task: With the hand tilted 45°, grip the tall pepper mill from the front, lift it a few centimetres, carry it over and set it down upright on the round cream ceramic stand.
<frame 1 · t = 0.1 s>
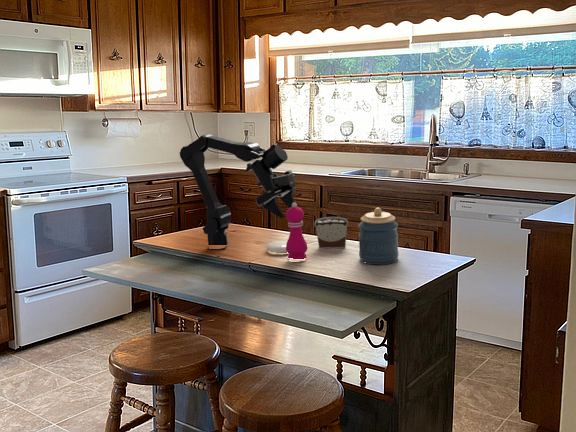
hand: (289, 214, 219), 15 cm above the kitchen island, tool tilted 35°, fingers open, 9 cm apart
pepper mill: (297, 260, 218), on the kitchen island
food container: (332, 245, 232), on the kitchen island
canister: (378, 260, 214), on the kitchen island
stand: (282, 250, 229), on the kitchen island
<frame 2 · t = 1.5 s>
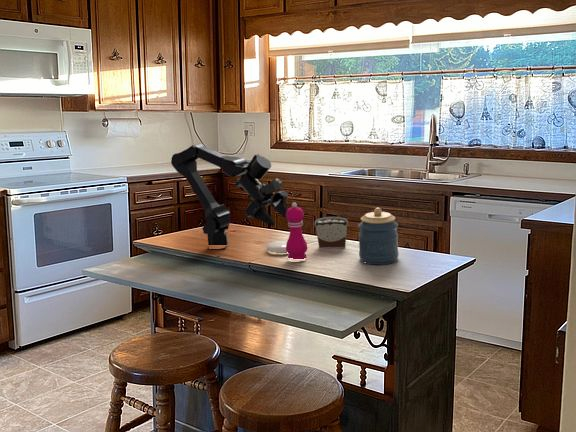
hand: (282, 222, 218), 13 cm above the kitchen island, tool tilted 45°, fingers open, 9 cm apart
nothing on the kitchen island moved.
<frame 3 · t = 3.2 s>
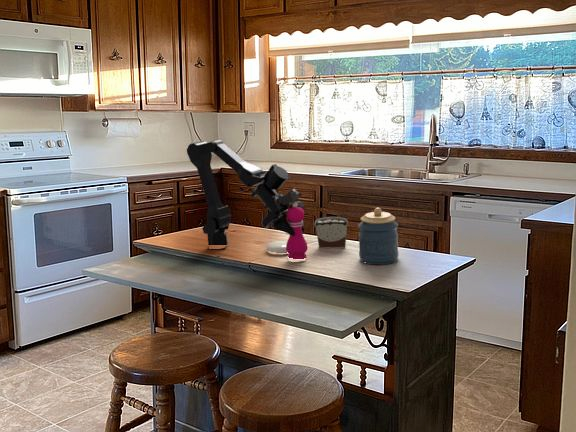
hand: (299, 233, 215), 10 cm above the kitchen island, tool tilted 45°, fingers closed on pepper mill, 5 cm apart
pepper mill: (297, 260, 218), on the kitchen island, touching gripper
everything else where it was.
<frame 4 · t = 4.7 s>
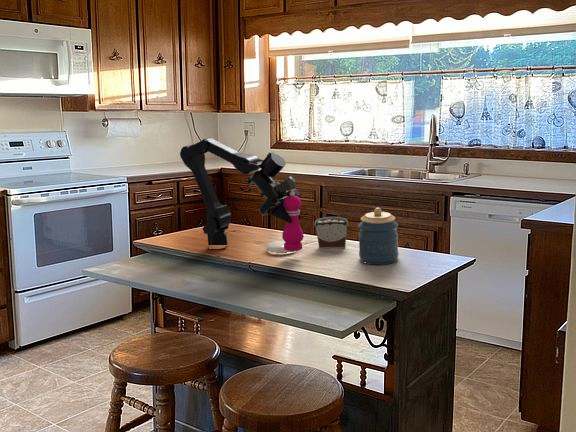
hand: (295, 220, 216), 13 cm above the kitchen island, tool tilted 45°, fingers closed on pepper mill, 5 cm apart
pepper mill: (293, 249, 219), point 3 cm above the kitchen island, touching gripper
everything else where it was.
when the fingers open (12 cm above the kitchen island, at t = 6.3 s): pepper mill stays where it is, resting on stand.
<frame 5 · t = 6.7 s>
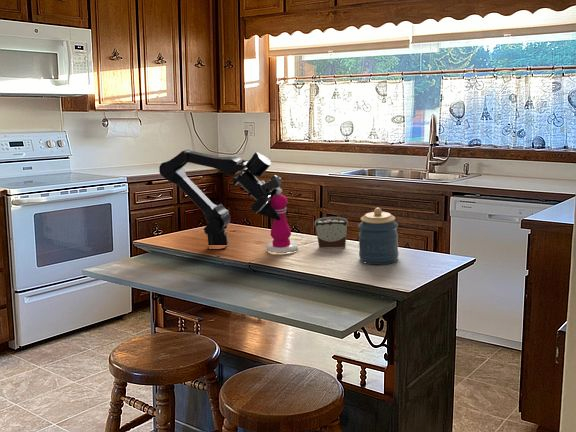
hand: (284, 216, 226), 13 cm above the kitchen island, tool tilted 45°, fingers open, 9 cm apart
pepper mill: (281, 245, 229), point 2 cm above the kitchen island, touching stand
everything else where it was.
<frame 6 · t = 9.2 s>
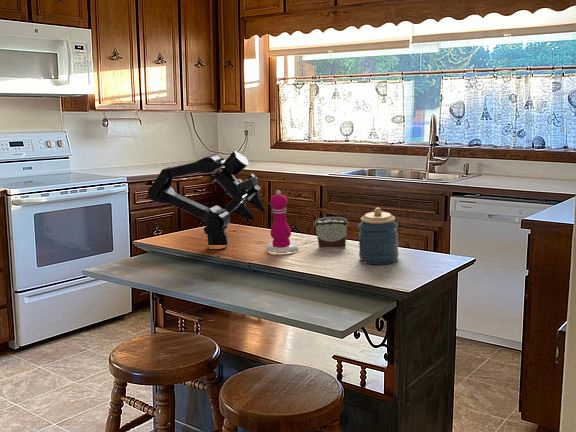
hand: (259, 215, 229), 13 cm above the kitchen island, tool tilted 40°, fingers open, 9 cm apart
nothing on the kitchen island moved.
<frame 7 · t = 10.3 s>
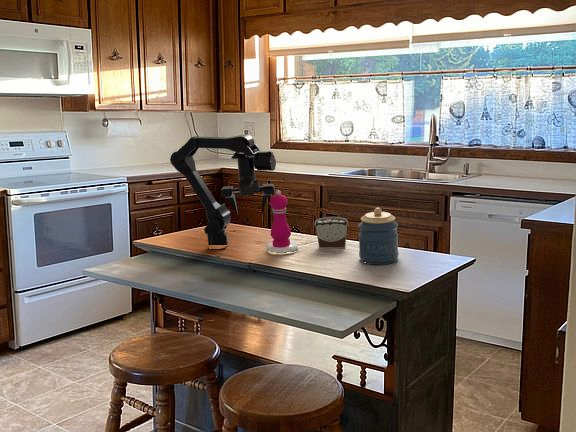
hand: (249, 213, 230), 13 cm above the kitchen island, tool pointing down, fingers open, 9 cm apart
nothing on the kitchen island moved.
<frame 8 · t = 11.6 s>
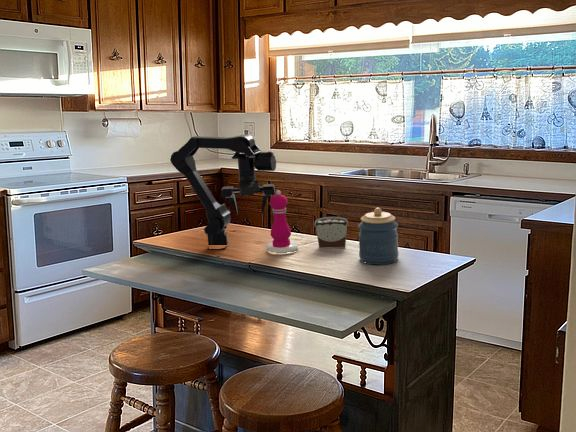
hand: (249, 214, 230), 13 cm above the kitchen island, tool pointing down, fingers open, 9 cm apart
nothing on the kitchen island moved.
at the end: pepper mill 0.3 cm off-centre on the stand, point 1.8 cm above the stand's base; pepper mill tilted 0°; the gripper is holding nothing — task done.
